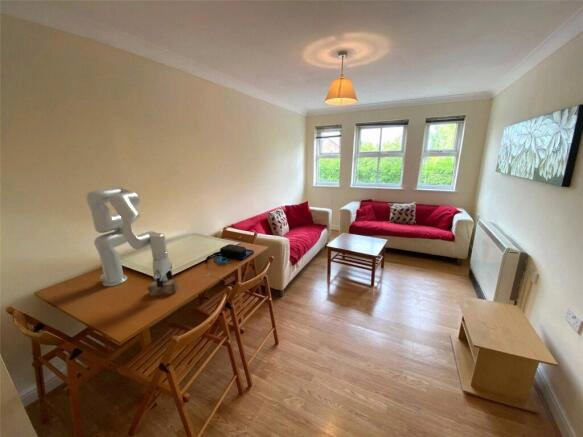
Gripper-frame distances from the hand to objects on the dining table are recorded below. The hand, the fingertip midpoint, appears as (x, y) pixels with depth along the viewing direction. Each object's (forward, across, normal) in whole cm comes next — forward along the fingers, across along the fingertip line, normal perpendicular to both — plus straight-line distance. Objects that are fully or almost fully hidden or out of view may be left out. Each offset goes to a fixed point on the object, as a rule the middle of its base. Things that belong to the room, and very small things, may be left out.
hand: (165, 282), depth 138 cm
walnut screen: (+6, 0, -2) cm, 7 cm away
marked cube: (+6, -10, -9) cm, 15 cm away
